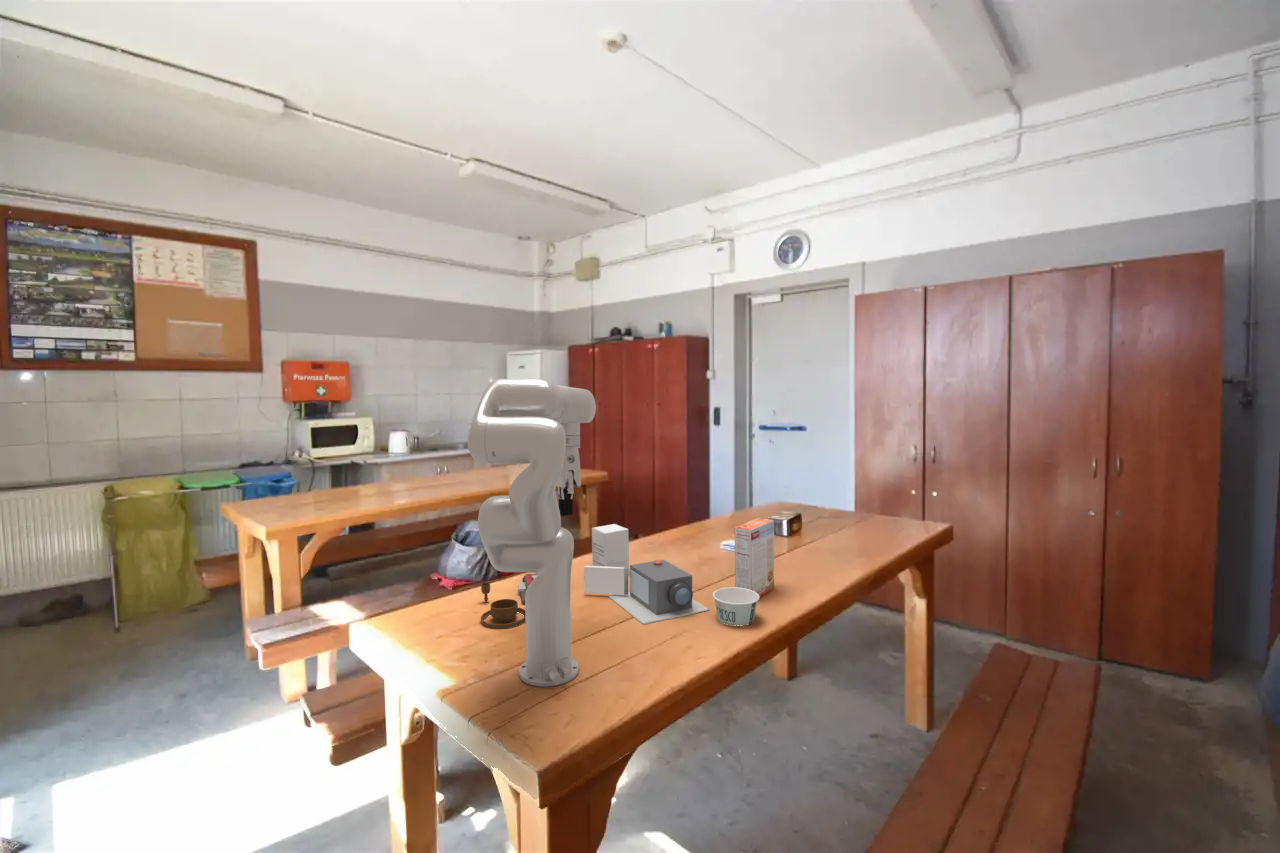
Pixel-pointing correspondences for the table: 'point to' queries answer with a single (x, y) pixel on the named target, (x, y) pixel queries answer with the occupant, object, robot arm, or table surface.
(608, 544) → the supplement box
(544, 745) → the table surface
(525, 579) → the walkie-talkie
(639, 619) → the camera box
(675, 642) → the table surface
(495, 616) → the place setting
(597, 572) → the side door
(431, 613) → the table surface
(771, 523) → the cracker box
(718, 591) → the food container
